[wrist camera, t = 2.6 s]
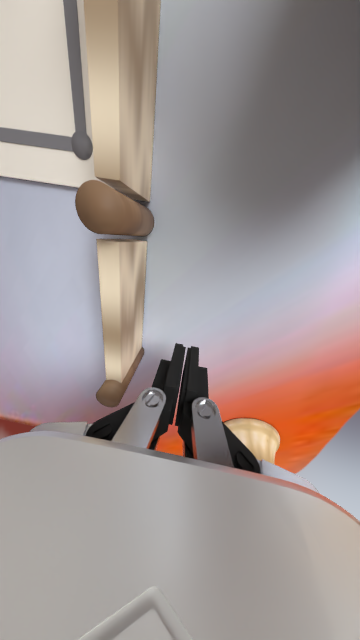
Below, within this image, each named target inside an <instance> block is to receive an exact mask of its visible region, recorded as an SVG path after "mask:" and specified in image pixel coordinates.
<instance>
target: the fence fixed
mask: <svg viewBox="0 0 360 640" xmlns="http://www.w3.org/2000/svg"><path fill="white" fill-rule="evenodd" d="M160 5H161V0H84V16H85V32H86V47H87V63H88V79H89V94H90V110H91V126H92V142H93V157H94V173H95V177H96V178H98V179H99V180H101V181H103V182H105V183H106V184H108V185H110V186H111V187H113V188H115V189H117V190H118V191H120V192H122V193H123V194H122V193H120V192H118V191H117V190H115V189H113V188H111V187H110V186H108V185H106V184H104V183H103V182H100V181H98V180H89V181H86V182H84V183H83V184H82V185H81V186H80V187H79V189H78V191H77V194H76V199H75V204H76V210H77V213H78V216H79V218H80V220H81V221H82V223H83V224H84V225H85V226H86V227H87V228H88V229H89V230H91V231H92V232H95V233H98V234H112V235H131V236H146V235H148V234H149V233H150V232H151V231H152V229H153V227H154V217H153V215H152V213H151V211H150V210H149V209H148V208H146V207H145V206H143V205H141V204H139V203H138V202H136V201H134V200H140V201H147V202H150V193H151V174H152V155H153V137H154V118H155V99H156V80H157V61H158V42H159V24H160ZM124 194H125V195H127V196H129V197H130V198H129V197H127V196H125V195H124ZM131 198H132V199H134V200H132V199H131Z"/></svg>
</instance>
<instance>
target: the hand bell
mask: <svg viewBox="0 0 360 640" xmlns="http://www.w3.org/2000/svg"><path fill="white" fill-rule="evenodd" d="M224 424H225V425H226V426H227V427H228V428H229V429H230V430H231V431H232V432H233V433H234V434H235V436H236V437H237V438H238V439H239V440H240V441H241V442H242V443H243V444H244V445H245V446H246V447H247V448H248V449H249V450H250V451H251V452H252V453H253V455H254V456H255V457H256V459H258V460H260V461H261V460H262V459H263V460H265V461H268V462H270V463H272V464H274V457H275V453H276V451H277V450H278V448H279V445H280V436H279V434H278V432H277V430H276V429H275V428H274V427H272V426H271V425H270V424H268V423H266V422H264V421H261V420H257V419H251V418H237V419H232V420H229V421H226V422H224Z"/></svg>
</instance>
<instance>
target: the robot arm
mask: <svg viewBox="0 0 360 640" xmlns="http://www.w3.org/2000/svg"><path fill="white" fill-rule="evenodd" d="M185 348H186V347H183V345H182V344H177V343H176V344H175V348H174V352H173V356H172V359H171V361H168V360H161V362H160V365H159V367H158V370H157V373H156V376H155V379H154V382H153V385H152V388H147V389H145V390H143V391H142V392H141V394H140V395H139V397H138V398H137V400H136V402H134V403H132V404H130V405H128V406H126V407H124V408H122V409H120V410H118V411H116V412H114V413H112V414H110V415H108V416H106V417H104V418H101V419H99V420H98V421H96V422H94V423H93V424H88V422H56V423H44V424H41V425H38V426H36V427H35V428H33V429H32V430H31V431H29V432H27V433H21V434H16V435H12V436H9V437H5V438H2V439H0V640H360V521H358V520H357V519H356V518H355V517H354V516H353V515H351V514H350V513H349V512H347V511H346V510H344V509H343V508H342V507H341V506H339V505H337V504H336V503H334V502H333V501H331V500H330V499H328V498H326V497H324V496H322V495H321V494H320V493H319V492H318V491H317V489H316V488H315V487H314V486H313V485H312V484H311V483H310V482H309V481H307V480H305V479H304V478H302V477H300V476H298V475H296V474H294V473H291V472H289V471H287V470H285V469H283V468H281V467H278V466H276V465H274V464H272V463H270V462H268V461H265V460H263V459H262V460H261V461H260V460H258V459H256V457H255V456H254V455H253V453H252V452H251V451H250V450H249V449H248V448H247V447H246V446H245V445H244V444H243V443H242V442H241V441H240V440H239V439H238V438H237V437H236V436H235V434H234V433H233V432H232V431H231V430H230V429H229V428H228V427H227V426H226V425H225V424H224V423H223V422H222V421H221V417H220V413H219V409H218V407H217V405H216V404H215V403H214V402H213V401H212V400H210V399H209V397H208V375H207V368H204V367H199V366H198V362H199V348H198V347H193V346H191V348H188V350H187V355H186V360H185V365H184V370H183V375H182V381H181V374H182V368H183V361H184V355H185ZM180 381H181V388H180V395H179V402H178V409H177V415H176V422H175V426H178V434H179V435H180V436H181V438H182V439H183V457H182V456H178V455H173V454H169V453H164V452H160V451H156V448H157V445H158V442H159V440H160V436H161V435H162V434H164V433H165V432H167V430H168V425H169V424H171V425H172V423H173V418H174V413H175V408H176V403H177V398H178V393H179V387H180Z"/></svg>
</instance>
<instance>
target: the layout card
mask: <svg viewBox="0 0 360 640" xmlns="http://www.w3.org/2000/svg"><path fill="white" fill-rule="evenodd" d="M0 176H3V177H10V178H16V179H23V180H30V181H36V182H43V183H50V184H56V185H63V186H69V187H76V188H79V187H80V186H81V185H82V184H83V183H84V182H86V181H89V180H98V181H100V182H103V181H101V180H99V179H98V178H96V177H95V173H94V157H93V142H92V126H91V110H90V94H89V79H88V63H87V47H86V32H85V16H84V0H0ZM103 183H104V184H106V183H105V182H103ZM106 185H108V184H106ZM108 186H110V185H108ZM110 187H111V186H110ZM111 188H113V187H111ZM113 189H115V188H113Z"/></svg>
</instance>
